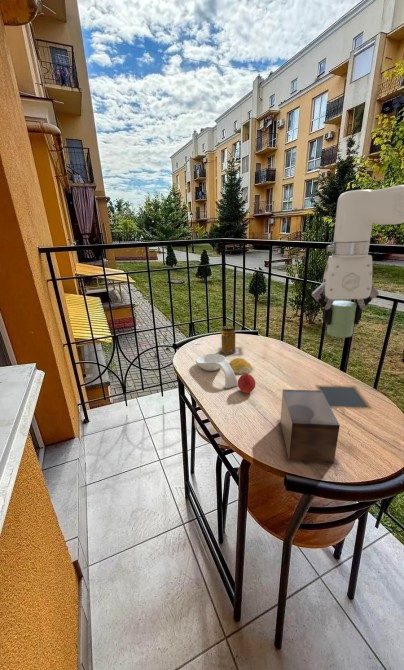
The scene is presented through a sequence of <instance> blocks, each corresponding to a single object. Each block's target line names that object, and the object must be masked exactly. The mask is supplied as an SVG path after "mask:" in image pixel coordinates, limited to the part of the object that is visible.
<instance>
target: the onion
mask: <svg viewBox="0 0 404 670" xmlns="http://www.w3.org/2000/svg"><path fill="white" fill-rule="evenodd" d="M237 383H238V385H237V387H238V389H239V390H240V392H242V393H244V394H249V393H251V392H253V391H254V390H255V388H256V380H255V378H254V377H253V376H252V375H251V374H249V372H246V373H242V374H241V375H240V377H239V378H238V379H237Z"/></svg>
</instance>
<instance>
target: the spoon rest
mask: <svg viewBox="0 0 404 670" xmlns="http://www.w3.org/2000/svg"><path fill="white" fill-rule="evenodd" d="M195 363H196V364H197V366H198V367H200V368H201V369H202V370H204V371H210V372H214V371H217V370H219V369H222V371H223V374H224V385H225V386H224V387H225V389H231V388H234V387H238V379H237V376H236V373H234V372H233V370H232V368H231V366H230V365H229V363H230V362H229V361H228V360H227V358H226V357H225V356H224V355H223V354H218V353H208V354H202V355H200V356H198V357H196V358H195Z"/></svg>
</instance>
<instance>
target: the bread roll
mask: <svg viewBox="0 0 404 670" xmlns="http://www.w3.org/2000/svg"><path fill="white" fill-rule="evenodd" d="M228 363H229V365H230V366H231V368H232V370H233V372H234V374H241V375H242V374H245V373H246V372H248V373H250V371H251V369H252V366H251V363H249V362H248V361H247V360H245V359H244V358H241V357H236V358H233V359H231V360H230V361H229V362H228Z"/></svg>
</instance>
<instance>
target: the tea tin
mask: <svg viewBox="0 0 404 670" xmlns="http://www.w3.org/2000/svg"><path fill="white" fill-rule="evenodd" d="M356 306H357V304H356V303H355V302H354V301H349V300H334V302H333V304H332V305H331V310H332V316H331V324H330V325H327V324H326V326H327V328H326V334H327V335H328V336H331V337H334V338H350V337H352V336H353V333H354V326H355V324H354V320H355V313H356Z"/></svg>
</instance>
